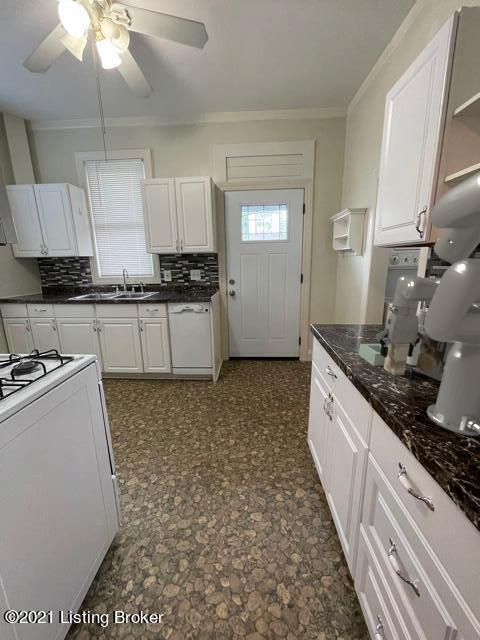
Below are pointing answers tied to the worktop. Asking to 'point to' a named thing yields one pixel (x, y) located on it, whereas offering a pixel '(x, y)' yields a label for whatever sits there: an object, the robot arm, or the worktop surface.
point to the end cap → (372, 354)
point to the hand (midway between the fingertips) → (395, 355)
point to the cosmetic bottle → (416, 349)
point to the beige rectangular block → (396, 358)
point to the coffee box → (432, 357)
